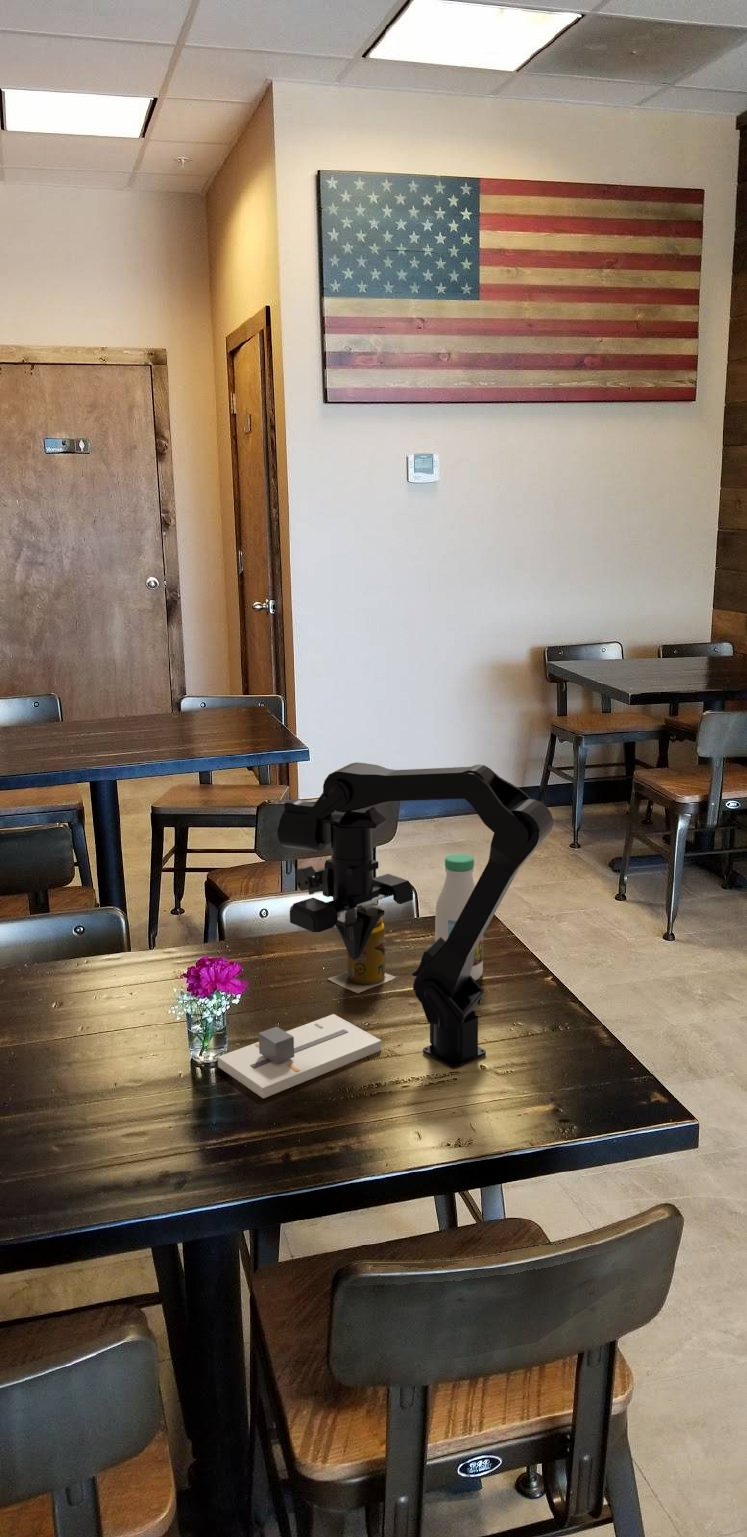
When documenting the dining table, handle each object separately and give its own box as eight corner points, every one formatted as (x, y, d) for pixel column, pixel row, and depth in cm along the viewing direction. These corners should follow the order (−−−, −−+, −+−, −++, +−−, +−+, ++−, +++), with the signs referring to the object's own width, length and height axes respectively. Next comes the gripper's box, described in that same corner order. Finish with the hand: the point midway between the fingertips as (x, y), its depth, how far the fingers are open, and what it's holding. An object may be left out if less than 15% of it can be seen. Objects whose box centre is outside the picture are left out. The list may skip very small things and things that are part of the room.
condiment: (396, 978, 182) (395, 908, 180) (358, 994, 177) (356, 922, 174) (365, 965, 188) (364, 897, 185) (327, 980, 182) (325, 910, 179)
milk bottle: (430, 981, 181) (429, 863, 176) (441, 962, 188) (441, 848, 183) (477, 987, 179) (478, 867, 174) (486, 967, 186) (488, 852, 181)
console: (381, 1050, 159) (381, 1039, 158) (263, 1098, 146) (262, 1087, 146) (333, 1023, 167) (333, 1013, 167) (218, 1066, 155) (217, 1056, 154)
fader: (294, 1057, 153) (293, 1036, 153) (276, 1064, 151) (275, 1043, 151) (277, 1046, 156) (276, 1026, 156) (259, 1053, 154) (258, 1033, 154)
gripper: (363, 829, 169) (365, 926, 173) (263, 856, 157) (268, 961, 161) (415, 844, 161) (416, 946, 165) (313, 874, 149) (317, 984, 153)
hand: (354, 958), depth 161 cm, fingers closed
